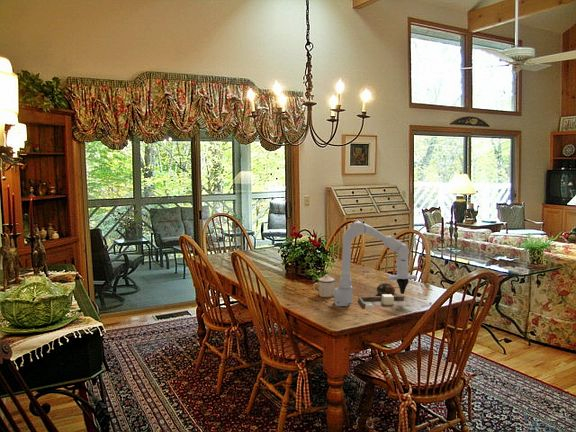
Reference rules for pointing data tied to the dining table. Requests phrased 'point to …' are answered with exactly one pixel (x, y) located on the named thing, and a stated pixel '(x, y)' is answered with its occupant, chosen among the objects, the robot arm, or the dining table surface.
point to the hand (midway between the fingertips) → (402, 293)
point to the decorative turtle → (385, 289)
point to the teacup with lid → (325, 286)
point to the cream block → (387, 299)
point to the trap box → (377, 300)
